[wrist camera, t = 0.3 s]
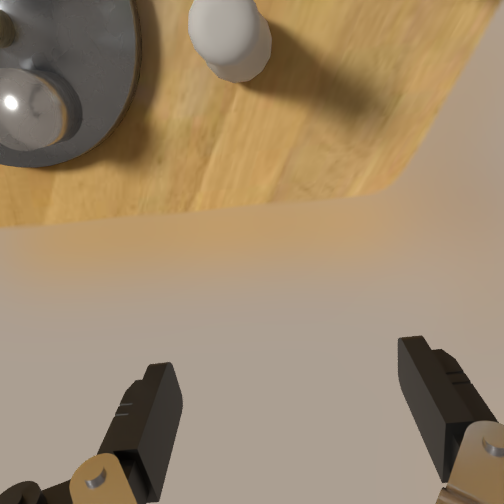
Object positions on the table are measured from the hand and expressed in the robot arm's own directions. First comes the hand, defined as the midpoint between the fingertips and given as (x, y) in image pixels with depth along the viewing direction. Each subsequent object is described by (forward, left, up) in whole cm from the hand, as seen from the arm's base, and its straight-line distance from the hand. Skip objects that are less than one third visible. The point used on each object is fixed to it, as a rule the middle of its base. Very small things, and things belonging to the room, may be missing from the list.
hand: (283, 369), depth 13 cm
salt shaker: (-12, -4, -27) cm, 30 cm away
